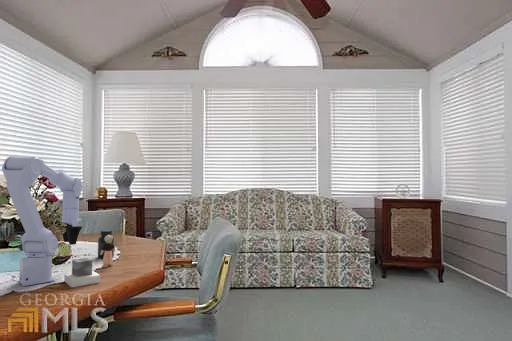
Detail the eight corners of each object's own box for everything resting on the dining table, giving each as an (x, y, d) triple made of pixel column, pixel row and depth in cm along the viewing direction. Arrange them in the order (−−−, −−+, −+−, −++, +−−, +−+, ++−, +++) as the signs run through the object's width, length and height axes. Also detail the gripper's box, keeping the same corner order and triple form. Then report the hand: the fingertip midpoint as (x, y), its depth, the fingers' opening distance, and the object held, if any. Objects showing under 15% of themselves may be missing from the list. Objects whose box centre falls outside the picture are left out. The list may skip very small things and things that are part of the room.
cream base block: (71, 288, 117) (71, 279, 117) (64, 282, 124) (64, 273, 124) (99, 283, 123) (100, 275, 123) (91, 278, 130) (91, 269, 130)
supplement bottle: (116, 256, 163) (117, 230, 163) (103, 259, 157) (104, 232, 157) (107, 254, 167) (108, 229, 167) (94, 257, 161) (95, 230, 161)
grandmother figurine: (106, 268, 142) (107, 236, 142) (98, 267, 143) (98, 236, 143) (117, 263, 149) (118, 233, 150) (109, 263, 150) (110, 233, 150)
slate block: (76, 277, 120) (77, 262, 120) (71, 274, 124) (72, 259, 124) (92, 274, 123) (92, 260, 124) (86, 271, 127) (87, 257, 127)
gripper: (87, 209, 137) (86, 244, 136) (76, 206, 147) (75, 239, 147) (67, 210, 132) (66, 246, 132) (57, 207, 143) (56, 241, 142)
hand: (69, 243), depth 139 cm, fingers open, 7 cm apart
